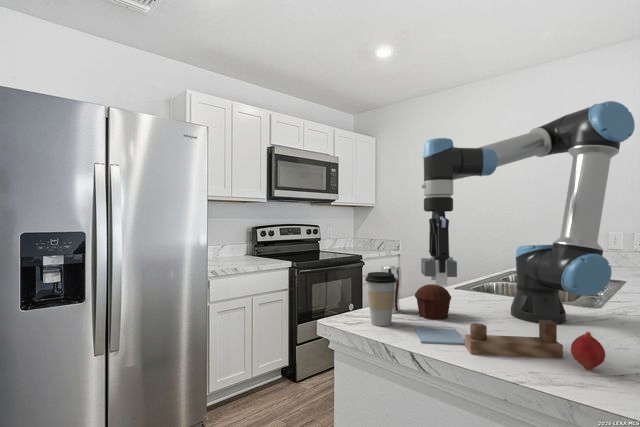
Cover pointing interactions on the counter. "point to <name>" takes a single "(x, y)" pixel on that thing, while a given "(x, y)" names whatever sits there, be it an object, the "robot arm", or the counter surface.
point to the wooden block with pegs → (515, 342)
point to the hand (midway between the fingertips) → (438, 282)
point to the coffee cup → (381, 297)
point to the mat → (439, 336)
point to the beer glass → (397, 275)
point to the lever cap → (430, 267)
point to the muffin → (433, 302)
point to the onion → (587, 351)
